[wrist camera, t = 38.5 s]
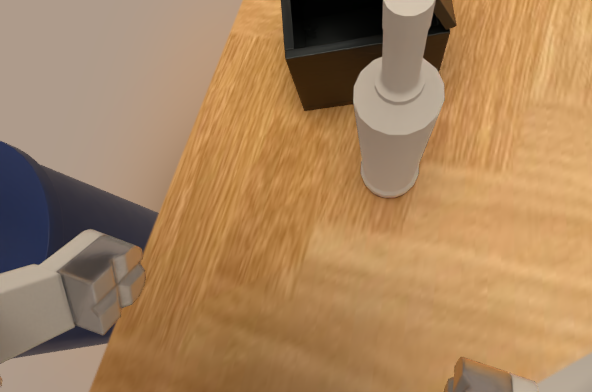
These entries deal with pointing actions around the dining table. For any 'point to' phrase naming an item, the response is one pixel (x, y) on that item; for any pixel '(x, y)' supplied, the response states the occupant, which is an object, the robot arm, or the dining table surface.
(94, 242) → the robot arm
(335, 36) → the bin
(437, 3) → the bin lid
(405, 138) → the white round tapered piece
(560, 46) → the dining table surface
